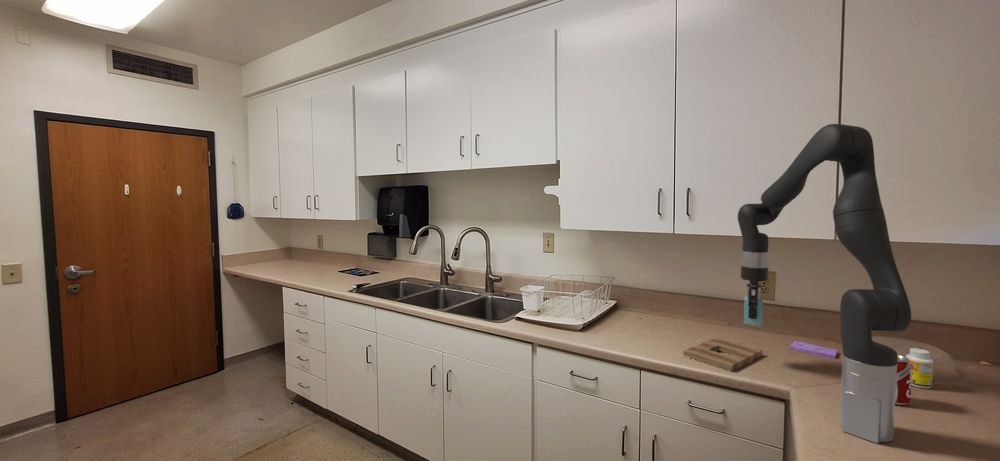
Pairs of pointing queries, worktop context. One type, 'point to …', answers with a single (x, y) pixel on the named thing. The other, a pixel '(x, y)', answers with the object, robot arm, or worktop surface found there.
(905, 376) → the soda can
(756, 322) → the teal block
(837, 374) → the worktop surface
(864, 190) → the robot arm
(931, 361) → the supplement bottle
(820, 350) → the sponges
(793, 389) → the worktop surface
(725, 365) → the socket board
